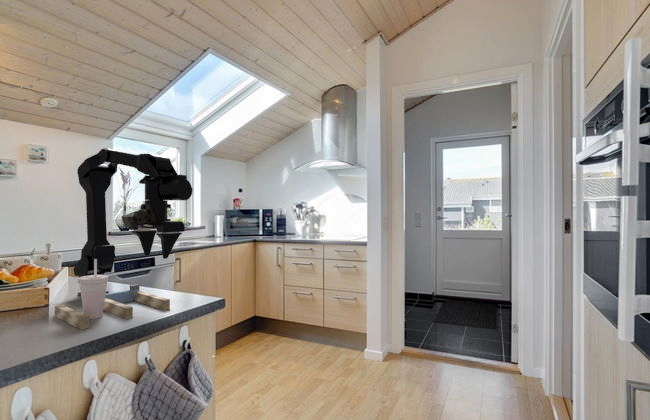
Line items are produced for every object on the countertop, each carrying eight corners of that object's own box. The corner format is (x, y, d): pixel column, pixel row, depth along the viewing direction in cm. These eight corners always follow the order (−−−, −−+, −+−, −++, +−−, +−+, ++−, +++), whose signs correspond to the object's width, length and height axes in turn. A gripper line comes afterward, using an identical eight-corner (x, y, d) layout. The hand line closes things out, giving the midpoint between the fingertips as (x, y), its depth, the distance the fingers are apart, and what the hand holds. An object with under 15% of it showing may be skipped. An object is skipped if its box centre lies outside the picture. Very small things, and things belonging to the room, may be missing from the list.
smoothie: (93, 321, 85) (94, 261, 85) (70, 320, 86) (70, 260, 86) (115, 313, 91) (115, 257, 91) (93, 312, 92) (93, 256, 92)
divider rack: (54, 316, 89) (54, 305, 89) (139, 299, 105) (139, 290, 105) (80, 329, 79) (80, 318, 79) (169, 308, 96) (169, 299, 96)
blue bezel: (95, 306, 97) (95, 291, 97) (136, 298, 106) (136, 284, 106) (97, 307, 96) (97, 291, 96) (139, 299, 105) (139, 284, 105)
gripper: (109, 199, 100) (109, 257, 100) (145, 199, 89) (145, 263, 89) (149, 200, 109) (148, 253, 109) (186, 200, 98) (185, 258, 98)
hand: (155, 256), depth 101 cm, fingers open, 9 cm apart
